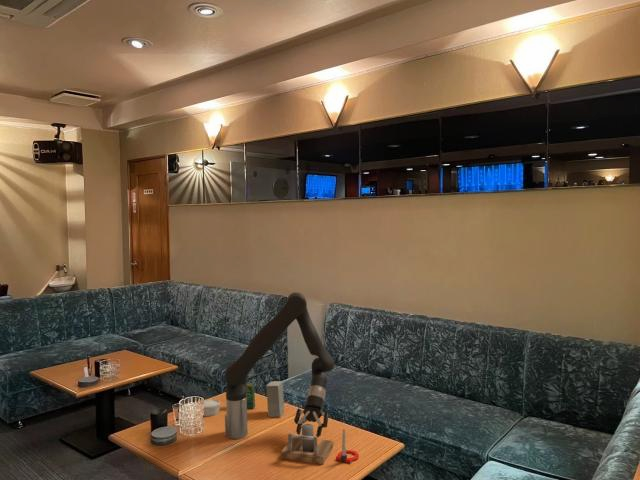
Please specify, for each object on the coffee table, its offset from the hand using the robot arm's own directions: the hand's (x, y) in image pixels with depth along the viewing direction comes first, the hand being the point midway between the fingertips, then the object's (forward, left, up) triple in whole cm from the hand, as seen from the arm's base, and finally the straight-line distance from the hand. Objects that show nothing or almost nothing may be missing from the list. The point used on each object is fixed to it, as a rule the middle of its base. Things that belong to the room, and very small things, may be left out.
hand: (307, 435), depth 192 cm
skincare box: (-29, +34, -8) cm, 45 cm away
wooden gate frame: (0, 0, -7) cm, 7 cm away
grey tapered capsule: (0, 0, -7) cm, 7 cm away
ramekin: (-63, +27, -8) cm, 69 cm away
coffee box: (-47, +38, -8) cm, 61 cm away
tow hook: (+17, +1, -8) cm, 19 cm away
